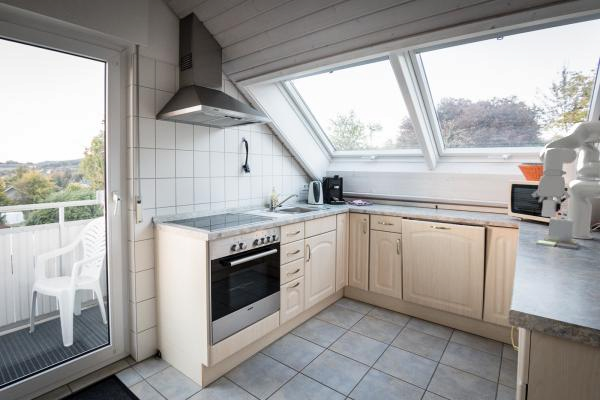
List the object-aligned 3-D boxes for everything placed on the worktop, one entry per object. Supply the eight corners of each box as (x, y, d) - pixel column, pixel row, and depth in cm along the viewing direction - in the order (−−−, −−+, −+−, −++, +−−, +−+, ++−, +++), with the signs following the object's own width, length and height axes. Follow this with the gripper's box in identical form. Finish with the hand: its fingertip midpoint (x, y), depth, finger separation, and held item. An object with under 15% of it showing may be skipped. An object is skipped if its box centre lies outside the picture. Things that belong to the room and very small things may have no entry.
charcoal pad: (558, 244, 160) (559, 242, 160) (577, 247, 155) (577, 245, 155) (556, 246, 155) (557, 244, 155) (575, 249, 150) (576, 247, 150)
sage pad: (539, 242, 166) (539, 240, 166) (556, 244, 161) (556, 242, 161) (536, 244, 161) (536, 242, 161) (554, 246, 156) (554, 244, 156)
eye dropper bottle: (544, 215, 163) (546, 191, 162) (557, 217, 158) (559, 192, 157) (539, 216, 161) (541, 191, 160) (552, 217, 156) (555, 192, 155)
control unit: (546, 239, 172) (547, 217, 171) (575, 243, 164) (577, 220, 163) (543, 241, 167) (545, 219, 166) (574, 245, 159) (576, 222, 158)
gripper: (576, 174, 154) (572, 212, 156) (532, 173, 166) (529, 208, 168) (574, 174, 149) (570, 213, 151) (529, 173, 161) (526, 209, 163)
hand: (549, 210), depth 159 cm, fingers closed on eye dropper bottle, 5 cm apart
